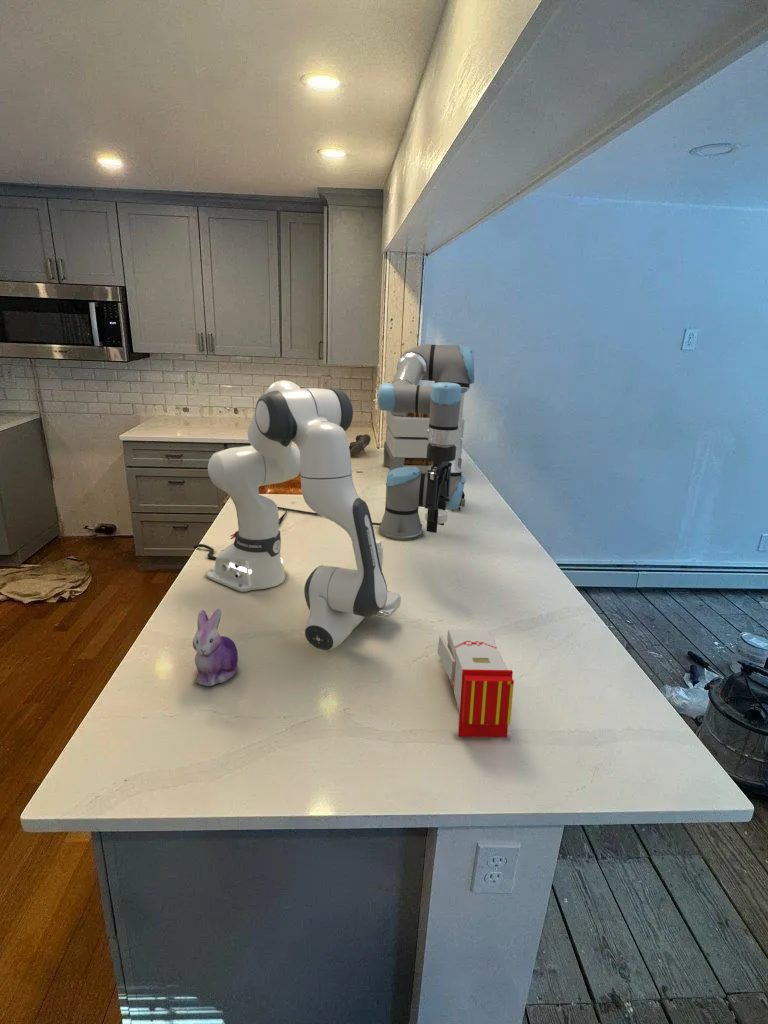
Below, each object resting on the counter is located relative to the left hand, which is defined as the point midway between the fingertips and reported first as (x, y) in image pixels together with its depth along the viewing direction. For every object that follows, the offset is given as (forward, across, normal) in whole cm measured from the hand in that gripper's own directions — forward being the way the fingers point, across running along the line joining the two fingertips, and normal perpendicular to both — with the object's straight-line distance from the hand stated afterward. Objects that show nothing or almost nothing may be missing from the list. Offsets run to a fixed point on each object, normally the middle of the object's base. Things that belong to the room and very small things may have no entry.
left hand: (372, 583), depth 150 cm
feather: (+48, +56, +6) cm, 74 cm away
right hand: (+14, -12, -13) cm, 23 cm away
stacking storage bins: (+128, +31, +6) cm, 132 cm away
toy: (-25, -33, +6) cm, 42 cm away
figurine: (-43, +17, +6) cm, 46 cm away
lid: (+15, -12, -17) cm, 25 cm away
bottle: (-1, 0, +6) cm, 6 cm away
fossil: (+148, +73, +6) cm, 165 cm away
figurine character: (+89, +2, +6) cm, 89 cm away
